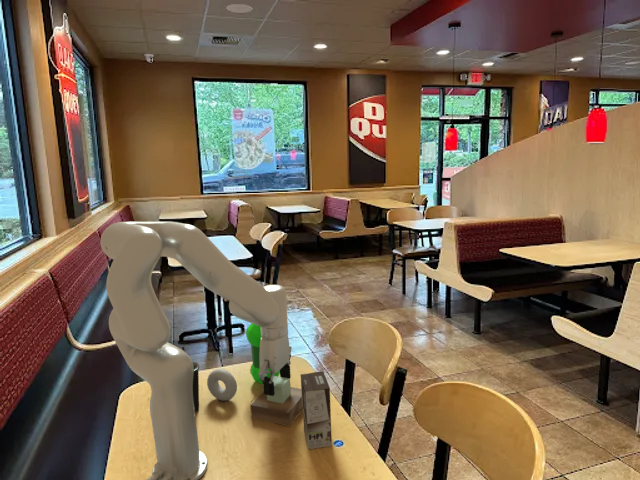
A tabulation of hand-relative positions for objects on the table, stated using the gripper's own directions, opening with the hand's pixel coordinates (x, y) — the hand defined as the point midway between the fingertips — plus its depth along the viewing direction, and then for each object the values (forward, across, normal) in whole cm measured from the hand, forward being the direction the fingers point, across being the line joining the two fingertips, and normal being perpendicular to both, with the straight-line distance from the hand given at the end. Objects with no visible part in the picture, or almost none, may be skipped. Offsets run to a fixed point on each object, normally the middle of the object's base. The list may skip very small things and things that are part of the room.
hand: (277, 386), depth 126 cm
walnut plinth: (+8, 0, 0) cm, 8 cm away
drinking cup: (+8, +8, -25) cm, 27 cm away
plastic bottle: (+8, -14, -12) cm, 20 cm away
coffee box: (+8, +7, +15) cm, 18 cm away
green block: (+4, 0, 0) cm, 4 cm away
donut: (+8, 0, -19) cm, 20 cm away
